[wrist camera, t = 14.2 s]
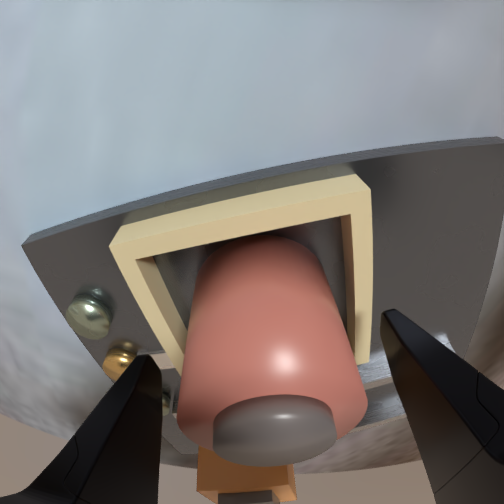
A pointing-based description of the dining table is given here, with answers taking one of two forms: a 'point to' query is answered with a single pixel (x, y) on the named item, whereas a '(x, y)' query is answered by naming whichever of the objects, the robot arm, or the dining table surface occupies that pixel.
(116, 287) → the panel
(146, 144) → the dining table surface
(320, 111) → the dining table surface
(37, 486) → the robot arm
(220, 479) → the toggle
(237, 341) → the salmon cylinder
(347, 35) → the dining table surface
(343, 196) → the socket
